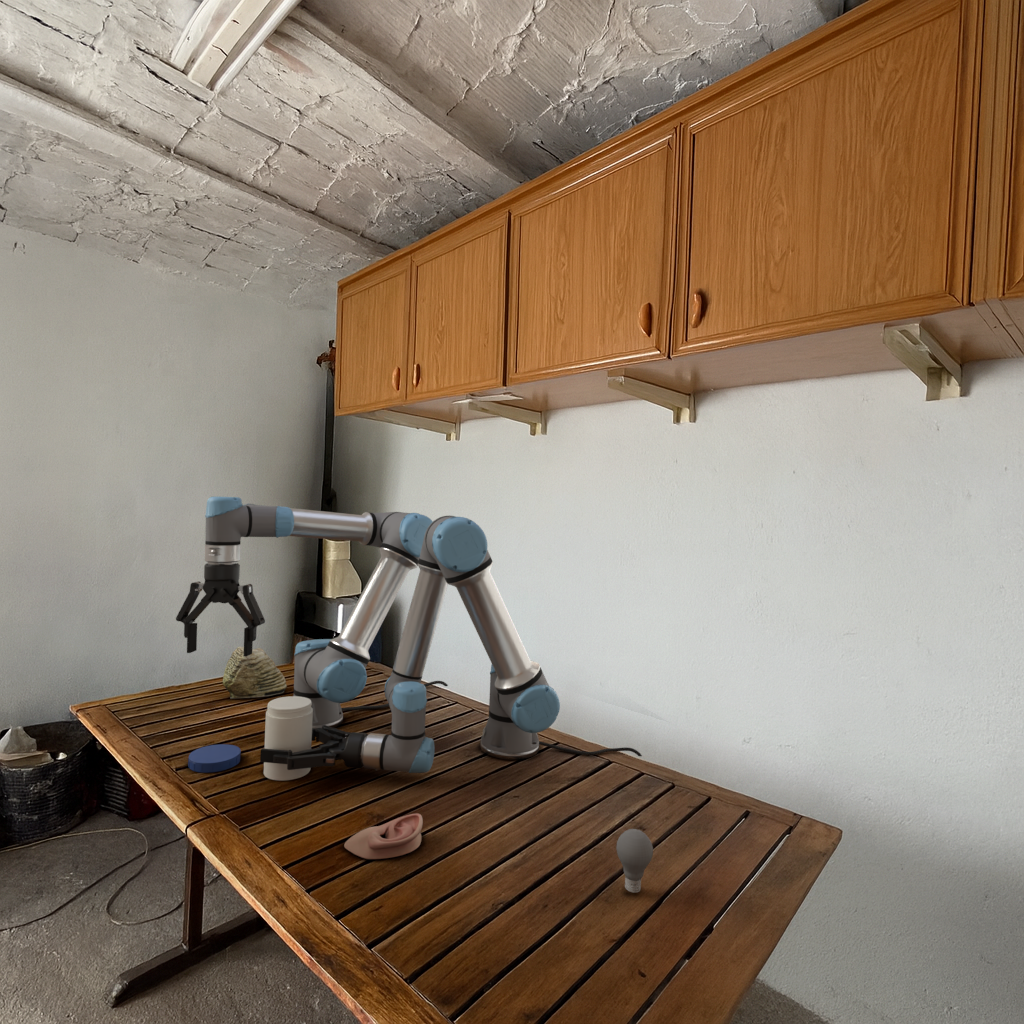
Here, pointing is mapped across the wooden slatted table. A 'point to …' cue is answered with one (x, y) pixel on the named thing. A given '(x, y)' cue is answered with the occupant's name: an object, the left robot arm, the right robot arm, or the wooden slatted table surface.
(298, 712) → the jar
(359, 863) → the wooden slatted table surface
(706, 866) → the wooden slatted table surface
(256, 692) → the fossil
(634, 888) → the light bulb
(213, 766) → the lid
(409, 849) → the anatomical model
